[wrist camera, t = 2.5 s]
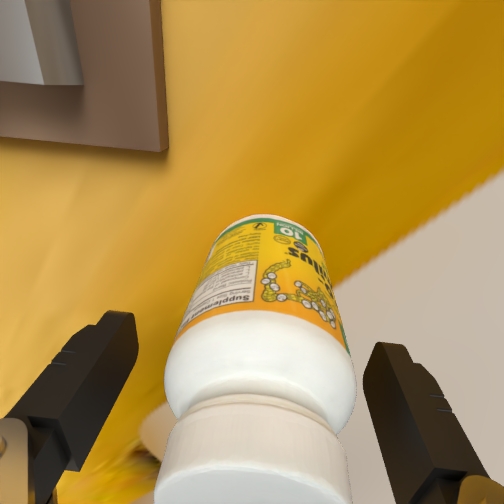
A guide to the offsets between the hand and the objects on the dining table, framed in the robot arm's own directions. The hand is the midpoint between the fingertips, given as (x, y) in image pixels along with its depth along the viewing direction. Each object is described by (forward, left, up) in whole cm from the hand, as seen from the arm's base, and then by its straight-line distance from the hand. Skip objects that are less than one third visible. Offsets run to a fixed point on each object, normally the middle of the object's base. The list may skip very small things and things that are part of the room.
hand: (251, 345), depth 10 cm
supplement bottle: (0, 0, -5) cm, 5 cm away
